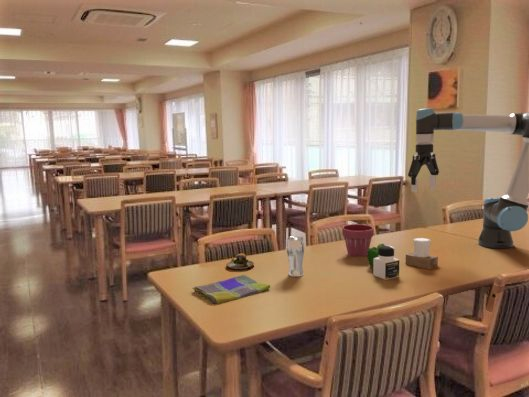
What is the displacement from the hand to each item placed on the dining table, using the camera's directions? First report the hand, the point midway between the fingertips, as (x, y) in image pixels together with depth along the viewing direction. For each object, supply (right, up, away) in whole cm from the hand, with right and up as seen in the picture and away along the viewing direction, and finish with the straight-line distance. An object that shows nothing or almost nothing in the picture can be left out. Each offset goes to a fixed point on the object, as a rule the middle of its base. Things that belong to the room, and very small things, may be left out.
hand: (423, 190), depth 207 cm
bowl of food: (-83, -34, -11) cm, 90 cm away
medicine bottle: (-25, -34, -29) cm, 52 cm away
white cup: (-7, -28, -16) cm, 33 cm away
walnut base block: (-6, -32, -16) cm, 36 cm away
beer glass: (-60, -35, -24) cm, 73 cm away
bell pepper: (-25, -33, -17) cm, 45 cm away
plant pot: (-29, -30, +3) cm, 42 cm away
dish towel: (-85, -38, -41) cm, 101 cm away
